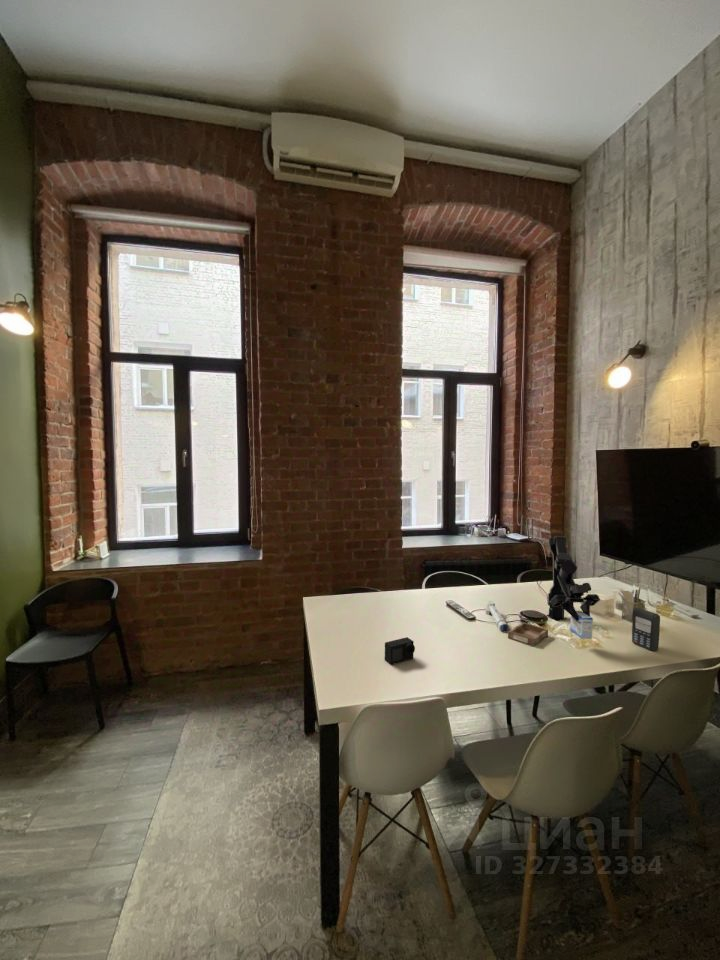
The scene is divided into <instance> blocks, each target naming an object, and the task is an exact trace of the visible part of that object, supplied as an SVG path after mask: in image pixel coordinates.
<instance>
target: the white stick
mask: <svg viewBox="0 0 720 960" xmlns="http://www.w3.org/2000/svg"><path fill="white" fill-rule="evenodd" d="M484 611H485V614H487V615H488V616H492V617H493V620H494V621H495V624H496V627H497V628H498V629H499V631H500V632H503V633H508V631H510V630H509V629H510V628H509V625H508V622H507V621H506V620H505V618H503V616H502V614H501V613H500V611H499V610H498V609H497V607H496V603H495V601H493V600H488V601H487V603H486V605H484Z"/></svg>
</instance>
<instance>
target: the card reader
mask: <svg viewBox="0 0 720 960" xmlns="http://www.w3.org/2000/svg"><path fill="white" fill-rule="evenodd" d="M631 624H632V625H631V642H632V644H634V645H636V646H638V647H642V648H643V649H646V650H649V651H651V652H657V651H658V650H659V646H660V645H659V644H660V627H661V626H660V625H661V616H660V615H659V614H658V613H655V612H653V611H650V610H646V609H644V608H641V607H635V608H633V609H632V623H631Z"/></svg>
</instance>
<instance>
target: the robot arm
mask: <svg viewBox="0 0 720 960" xmlns="http://www.w3.org/2000/svg"><path fill="white" fill-rule="evenodd" d="M568 542H569V540H568V538H566V536H559V535H556V536H553V537H548V539H547V546H548V548H549V552H550V554H551V555H552V586H551V587H550V589H549V592H548V594H547V597H546V598H547V599H546V601H547V602H546V603H547V606H549V608H548V614H546V617H548V618H550V619H553V620H554V621H564V620H567V618H568V617H565V611H566V613H568V614H569V615H570V617H571V616H572V617H574V618H575V619H576V620H577V621H578V620H579V618H578V615H577V613H576V611H577V610H576V608H575V607H574V604H575V603H580V607H579V608H580V609H581V610H580V611H582V612H583V613H585V614H587V615H588V616H590V617H591V609H590V608H591V607H593V606H595V605H596V604H597V603H599V602H600V601H601V598H600V596H599V594H596V593H592V594H591V593H589V592H590V591H592V587H591V584H590V583H589V582H584V583H582V584H578V583H576V582H575V580H574V578H575V575H576V572H577V570H578V566H577V564H576V563H575V561H573V557H572V556H571V555H570V554H568V547H569V545H568V544H569V543H568ZM585 593H587V595H586V596H585ZM583 596H585V597H583Z"/></svg>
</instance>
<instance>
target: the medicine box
mask: <svg viewBox="0 0 720 960" xmlns="http://www.w3.org/2000/svg"><path fill="white" fill-rule="evenodd" d="M575 611H576V613H577V615H578V618H579V620H578V621H577V620H576V619H575V618H574V617H572V616H571V615H570V626H569V627H570V628H569V630H570V632H571V633H572V634H574V635H575V636H577V637H578V638H580V639H582V640H586V639H587V640H590V639H591V640H592V638H593V627H594V625H593V624H594V618H593V617H592V616H591V615H590V616H588V615H587V614H585V613H583V612H582V610H575Z"/></svg>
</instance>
